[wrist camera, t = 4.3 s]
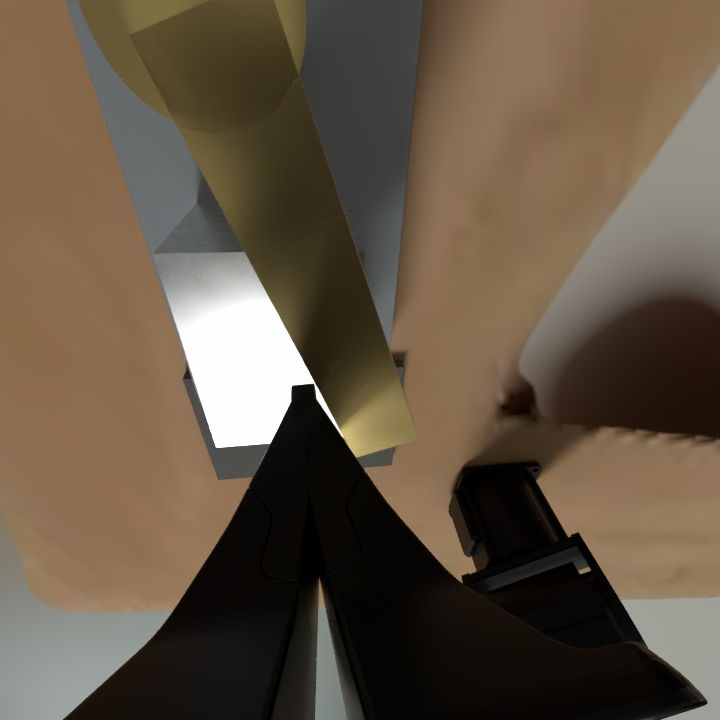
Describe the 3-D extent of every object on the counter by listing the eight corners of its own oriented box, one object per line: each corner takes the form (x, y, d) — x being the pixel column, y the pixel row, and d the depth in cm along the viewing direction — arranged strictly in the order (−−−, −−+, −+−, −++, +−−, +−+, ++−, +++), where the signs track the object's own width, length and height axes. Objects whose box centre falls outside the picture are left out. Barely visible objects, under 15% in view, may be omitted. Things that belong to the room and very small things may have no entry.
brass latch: (263, -129, 5) (241, -233, 3) (413, 381, 11) (433, 435, 10) (100, -54, 5) (5, -114, 4) (335, 405, 12) (340, 462, 10)
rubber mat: (402, 360, 21) (404, 367, 21) (390, 458, 27) (391, 465, 26) (185, 372, 20) (182, 379, 19) (219, 472, 25) (218, 479, 25)
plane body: (403, -25, 12) (509, -134, 6) (377, 355, 21) (406, 467, 15) (97, -46, 11) (-171, -203, 5) (212, 363, 20) (172, 487, 14)
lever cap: (347, 201, 13) (364, 249, 9) (346, 361, 17) (357, 436, 13) (197, 202, 12) (152, 254, 9) (235, 367, 16) (216, 447, 13)
